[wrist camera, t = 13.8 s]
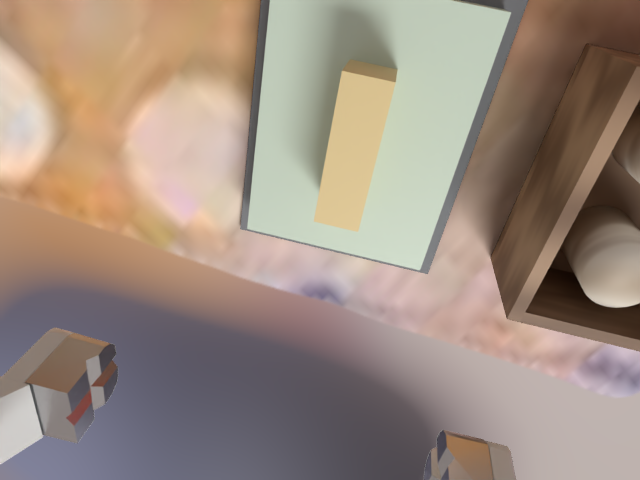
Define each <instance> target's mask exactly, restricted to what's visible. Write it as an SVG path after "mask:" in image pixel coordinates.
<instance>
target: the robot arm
mask: <svg viewBox="0 0 640 480" xmlns="http://www.w3.org/2000/svg"><path fill="white" fill-rule="evenodd" d="M115 355H116V349H115V345H114V344H110V343H107V342H104V341H100V340H97V339H93V338H90V337H86V336H83V335H80V334H76V333H72V332H69V331H65V330H62V329H58V328H53V329H52V330H49V331H48V332H46V333H45V334H44V335H43V336H42V337H41V338H40V339H39V340H38V341H37V342H36V343H35V344H34V345H33V346H32V347H31V348H30V349H29V350H28V351H27V352H26V353H25V354H24V355H23V356H22V357H21V358H20V359H19V360H18V361H17V362H16V363H15V364H14V365H13V366H12V367H11V368H10V369H9V370H8V371H7V372H6V373H5V374H4V375H3V376H2V377H0V464H2V463H3V462H5V461H6V460H8V459H9V458H11V457H13V456H14V455H16V454H17V453H19V452H21V451H22V450H24V449H25V448H27V447H28V446H30V445H31V444H33V443H35V442H36V441H38V440H39V439H41V438H42V437H43V435H46V436H50V437H54V438H58V439H62V440H66V441H70V442H74V443H78V442H79V441H80V439H81V438H82V436H83V435H84V434H85V432H86V431H87V429H88V428H89V426H90V425H91V424H92V422H93V421H94V410H95V409H97V408H99V407H100V406H102V405H104V404H106V402H107V401H108V399H109V398H110V396H111V395H112V393H113V390H114V388H115V385H116V383H117V379H118V367H117V366H116V364H115V363H114V362H113V360H112V359H113V358H114V357H115ZM424 480H516V476H515V472H514V466H513V461H512V457H511V452H510V450H509V448H508V447H507V446H504V445H500V444H496V443H492V442H488V441H484V440H482V439H479V438H474V437H471V436H467V435H462V434H458V433H454V432H450V431H446V430H442V431H441V432H440V433H439V435H438V437H437V447H436V448H434V449H432V450H431V451H430V453H429V456H428V458H427V461H426V465H425V470H424Z"/></svg>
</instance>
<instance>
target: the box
mask: <svg viewBox="0 0 640 480" xmlns="http://www.w3.org/2000/svg"><path fill="white" fill-rule="evenodd" d="M491 261H492V265H493V269H494V273H495V276H496V280H497V284H498V288H499V291H500V295H501V299H502V303H503V306H504V310H505V314H506V318H507V319H509V320H513V321H517V322H521V323H525V324H529V325H533V326H537V327H542V328H546V329H550V330H554V331H558V332H562V333H566V334H570V335H574V336H578V337H583V338H587V339H591V340H595V341H599V342H603V343H607V344H611V345H615V346H619V347H624V348H628V349H632V350H636V351H640V55H638V54H633V53H628V52H624V51H619V50H614V49H609V48H604V47H599V46H595V45H590V44H586V46H585V48H584V50H583V52H582V55H581V57H580V59H579V61H578V64H577V66H576V68H575V70H574V72H573V75H572V77H571V79H570V81H569V84H568V86H567V88H566V90H565V93H564V95H563V97H562V99H561V102H560V104H559V106H558V108H557V110H556V113H555V115H554V117H553V119H552V122H551V124H550V126H549V128H548V131H547V133H546V135H545V137H544V140H543V142H542V144H541V146H540V148H539V151H538V153H537V155H536V157H535V160H534V162H533V164H532V166H531V169H530V171H529V173H528V175H527V178H526V180H525V182H524V184H523V186H522V189H521V191H520V193H519V195H518V198H517V200H516V202H515V204H514V207H513V209H512V211H511V213H510V216H509V218H508V220H507V222H506V224H505V227H504V229H503V231H502V233H501V236H500V238H499V240H498V242H497V245H496V247H495V249H494V251H493V253H492V256H491Z"/></svg>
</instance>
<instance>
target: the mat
mask: <svg viewBox="0 0 640 480" xmlns="http://www.w3.org/2000/svg"><path fill="white" fill-rule="evenodd" d="M461 1H466V2H471V3H476V4H481V5H486V6H491V7H496V8H500V9H505V10H507V11H509V12H511V15H510V18H509V21H508V23H507V26H506V29H505V32H504V35H503V37H502V40H501V43H500V46H499V49H498V52H497V54H496V57H495V60H494V63H493V66H492V69H491V71H490V74H489V77H488V80H487V83H486V85H485V88H484V91H483V94H482V97H481V100H480V102H479V105H478V108H477V111H476V114H475V117H474V119H473V122H472V125H471V128H470V131H469V134H468V136H467V139H466V142H465V145H464V148H463V150H462V153H461V156H460V159H459V162H458V165H457V167H456V170H455V173H454V176H453V179H452V182H451V184H450V187H449V190H448V193H447V196H446V198H445V201H444V204H443V207H442V210H441V213H440V215H439V218H438V221H437V224H436V227H435V230H434V232H433V235H432V238H431V241H430V244H429V246H428V249H427V252H426V255H425V258H424V261H423V263H422V266H421V269H420V270H416V269H412V268H408V267H403V266H399V265H395V264H391V263H387V262H383V261H378V260H374V259H370V258H366V257H362V256H358V255H353V254H349V253H345V252H341V251H337V250H333V249H329V248H324V247H320V246H316V245H312V244H308V243H304V242H299V241H295V240H291V239H287V238H283V237H279V236H274V235H270V234H266V233H262V232H258V231H254V230H249V229H247V226H248V216H249V206H250V196H251V185H252V175H253V165H254V155H255V145H256V135H257V125H258V115H259V105H260V95H261V85H262V75H263V65H264V55H265V45H266V35H267V25H268V15H269V5H270V0H261V7H260V18H259V29H258V40H257V51H256V62H255V73H254V84H253V95H252V106H251V117H250V128H249V139H248V150H247V161H246V172H245V183H244V194H243V205H242V216H241V227H240V229H242V230H247V231H251V232H255V233H259V234H263V235H267V236H271V237H276V238H280V239H284V240H288V241H292V242H296V243H301V244H305V245H309V246H313V247H317V248H321V249H325V250H330V251H334V252H338V253H342V254H346V255H350V256H355V257H359V258H363V259H367V260H371V261H375V262H379V263H384V264H388V265H392V266H396V267H400V268H404V269H409V270H413V271H417V272H421V273H425V274H428V272H429V269H430V266H431V264H432V261H433V258H434V256H435V253H436V250H437V247H438V245H439V242H440V239H441V237H442V234H443V231H444V228H445V226H446V223H447V220H448V217H449V215H450V212H451V209H452V207H453V204H454V201H455V198H456V196H457V193H458V190H459V188H460V185H461V182H462V179H463V177H464V174H465V171H466V168H467V166H468V163H469V160H470V158H471V155H472V152H473V149H474V147H475V144H476V141H477V139H478V136H479V133H480V130H481V128H482V125H483V122H484V119H485V117H486V114H487V111H488V109H489V106H490V103H491V100H492V98H493V95H494V92H495V90H496V87H497V84H498V81H499V79H500V76H501V73H502V70H503V68H504V65H505V62H506V60H507V57H508V54H509V51H510V49H511V46H512V43H513V40H514V38H515V35H516V32H517V30H518V27H519V24H520V21H521V19H522V16H523V13H524V11H525V8H526V5H527V2H528V0H461Z"/></svg>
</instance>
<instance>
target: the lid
mask: <svg viewBox="0 0 640 480" xmlns="http://www.w3.org/2000/svg"><path fill="white" fill-rule="evenodd" d="M510 15H511V12H509V11H507V10H505V9H500V8H496V7H491V6H486V5H481V4H476V3H471V2H466V1H461V0H270V5H269V15H268V25H267V35H266V45H265V55H264V65H263V75H262V85H261V95H260V105H259V115H258V125H257V135H256V145H255V155H254V165H253V175H252V185H251V196H250V206H249V216H248V226H247V229H249V230H254V231H258V232H262V233H266V234H270V235H274V236H279V237H283V238H287V239H291V240H295V241H299V242H304V243H308V244H312V245H316V246H320V247H324V248H329V249H333V250H337V251H341V252H345V253H349V254H353V255H358V256H362V257H366V258H370V259H374V260H378V261H383V262H387V263H391V264H395V265H399V266H403V267H408V268H412V269H416V270H420V269H421V266H422V263H423V261H424V258H425V255H426V252H427V249H428V246H429V244H430V241H431V238H432V235H433V232H434V230H435V227H436V224H437V221H438V218H439V215H440V213H441V210H442V207H443V204H444V201H445V198H446V196H447V193H448V190H449V187H450V184H451V182H452V179H453V176H454V173H455V170H456V167H457V165H458V162H459V159H460V156H461V153H462V150H463V148H464V145H465V142H466V139H467V136H468V134H469V131H470V128H471V125H472V122H473V119H474V117H475V114H476V111H477V108H478V105H479V102H480V100H481V97H482V94H483V91H484V88H485V85H486V83H487V80H488V77H489V74H490V71H491V69H492V66H493V63H494V60H495V57H496V54H497V52H498V49H499V46H500V43H501V40H502V37H503V35H504V32H505V29H506V26H507V23H508V21H509V18H510Z"/></svg>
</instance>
